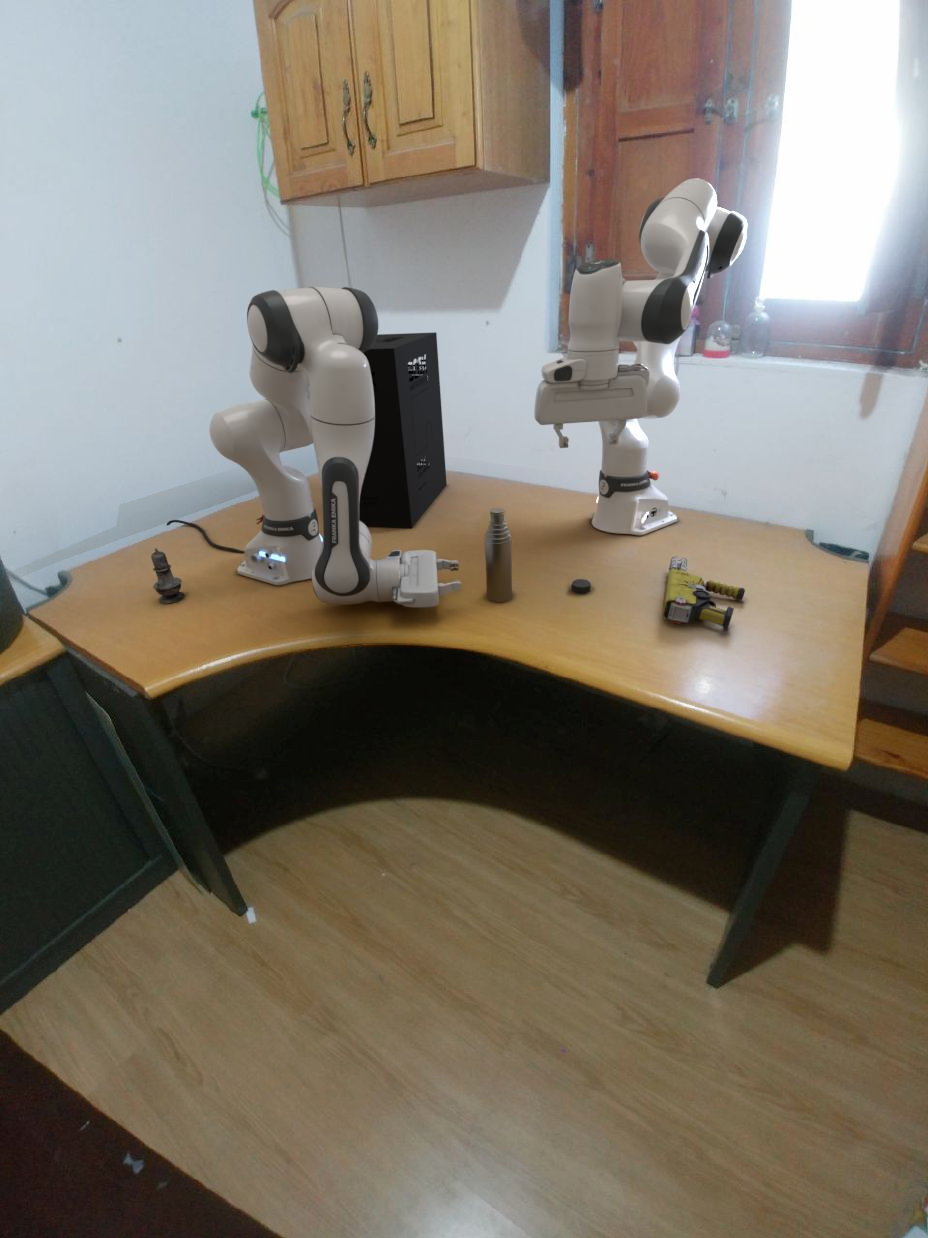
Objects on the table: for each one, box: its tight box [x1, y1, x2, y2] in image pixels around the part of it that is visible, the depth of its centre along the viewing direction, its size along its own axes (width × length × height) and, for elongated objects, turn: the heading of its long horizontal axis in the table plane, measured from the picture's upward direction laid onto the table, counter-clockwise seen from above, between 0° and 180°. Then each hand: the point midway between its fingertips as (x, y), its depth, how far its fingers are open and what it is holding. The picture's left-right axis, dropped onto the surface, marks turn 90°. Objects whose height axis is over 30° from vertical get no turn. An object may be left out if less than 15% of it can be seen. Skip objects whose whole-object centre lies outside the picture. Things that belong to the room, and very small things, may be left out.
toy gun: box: [662, 556, 746, 632], centre depth 120 cm, size 5×24×15 cm
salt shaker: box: [150, 547, 185, 604], centre depth 132 cm, size 6×6×12 cm
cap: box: [570, 578, 592, 595], centre depth 128 cm, size 4×4×2 cm
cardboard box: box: [359, 332, 448, 529], centre depth 171 cm, size 38×20×45 cm, turn 167°
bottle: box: [484, 507, 513, 603], centre depth 123 cm, size 5×5×19 cm
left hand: (459, 574), depth 125 cm, fingers open, 8 cm apart
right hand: (588, 445), depth 113 cm, fingers open, 8 cm apart
